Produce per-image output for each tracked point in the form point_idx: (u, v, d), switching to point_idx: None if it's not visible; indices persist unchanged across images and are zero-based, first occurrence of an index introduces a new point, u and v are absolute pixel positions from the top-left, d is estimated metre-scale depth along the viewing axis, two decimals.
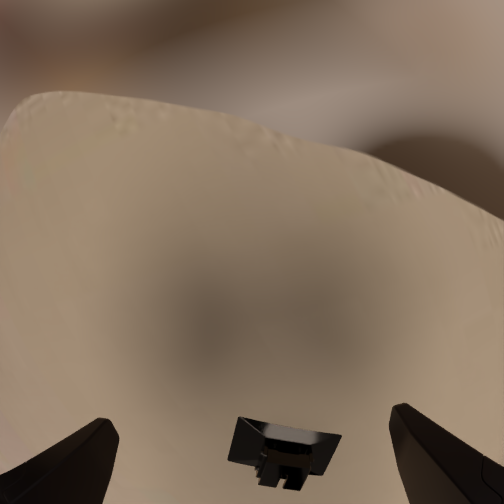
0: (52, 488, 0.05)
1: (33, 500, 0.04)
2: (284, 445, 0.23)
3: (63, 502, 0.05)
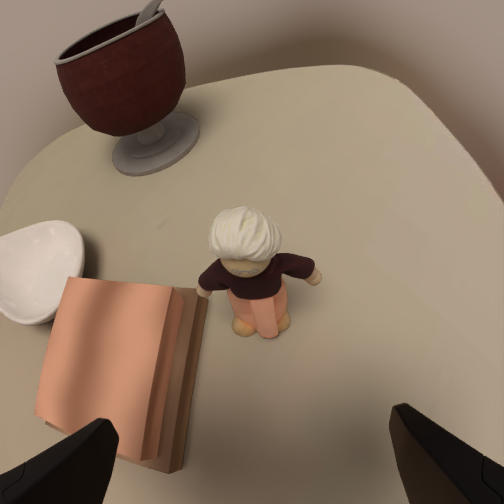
0: (51, 488, 0.05)
1: (33, 500, 0.04)
2: None
3: (63, 502, 0.05)
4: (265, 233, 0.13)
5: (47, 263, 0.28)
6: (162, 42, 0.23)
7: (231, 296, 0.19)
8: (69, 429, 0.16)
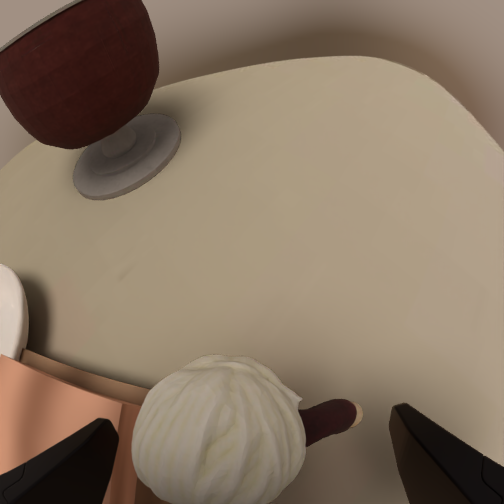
0: (52, 488, 0.05)
1: (33, 500, 0.04)
2: None
3: (63, 502, 0.05)
4: (269, 471, 0.04)
5: None
6: (119, 16, 0.14)
7: None
8: None
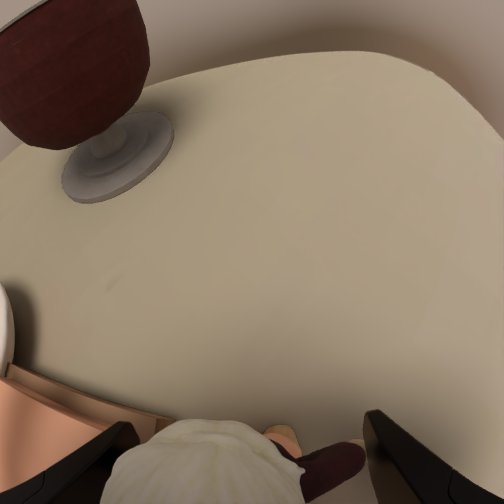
0: (74, 497, 0.05)
1: None
2: None
3: None
4: None
5: None
6: (105, 7, 0.12)
7: None
8: None
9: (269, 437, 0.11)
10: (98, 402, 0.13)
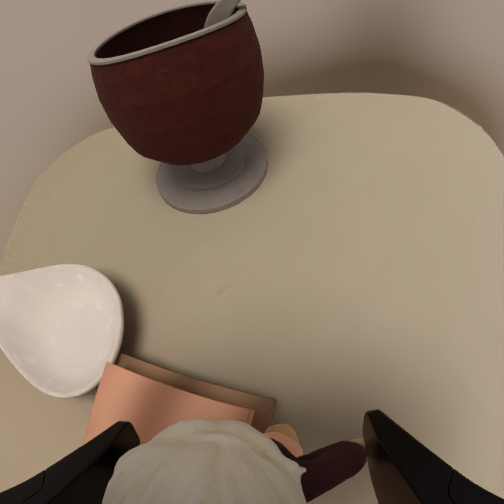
0: (74, 497, 0.05)
1: None
2: None
3: None
4: None
5: (73, 312, 0.24)
6: (244, 53, 0.18)
7: None
8: None
9: (270, 436, 0.11)
10: (223, 387, 0.19)
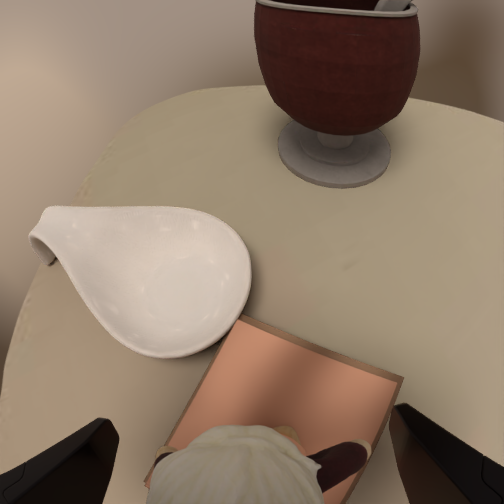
0: (51, 488, 0.05)
1: (33, 500, 0.04)
2: None
3: (63, 502, 0.05)
4: None
5: (174, 262, 0.25)
6: (416, 45, 0.16)
7: None
8: None
9: None
10: (357, 361, 0.18)
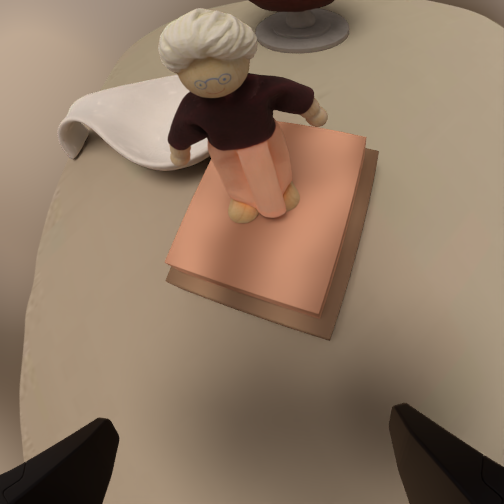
0: (52, 488, 0.05)
1: (33, 500, 0.04)
2: None
3: (63, 502, 0.05)
4: (230, 21, 0.07)
5: None
6: None
7: (214, 156, 0.14)
8: (220, 277, 0.18)
9: None
10: None
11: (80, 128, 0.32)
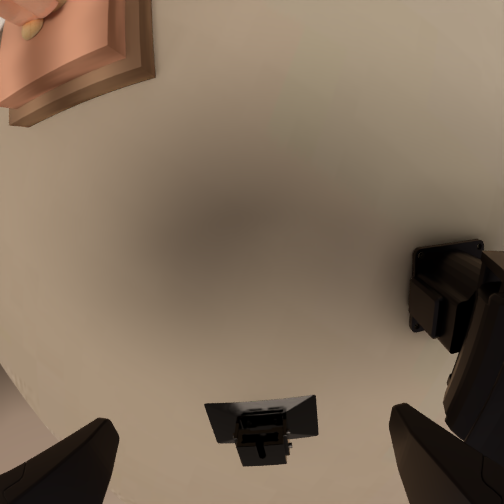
0: (52, 488, 0.05)
1: (33, 500, 0.04)
2: None
3: (63, 502, 0.05)
4: None
5: None
6: None
7: None
8: (31, 79, 0.13)
9: None
10: None
11: None
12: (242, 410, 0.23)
